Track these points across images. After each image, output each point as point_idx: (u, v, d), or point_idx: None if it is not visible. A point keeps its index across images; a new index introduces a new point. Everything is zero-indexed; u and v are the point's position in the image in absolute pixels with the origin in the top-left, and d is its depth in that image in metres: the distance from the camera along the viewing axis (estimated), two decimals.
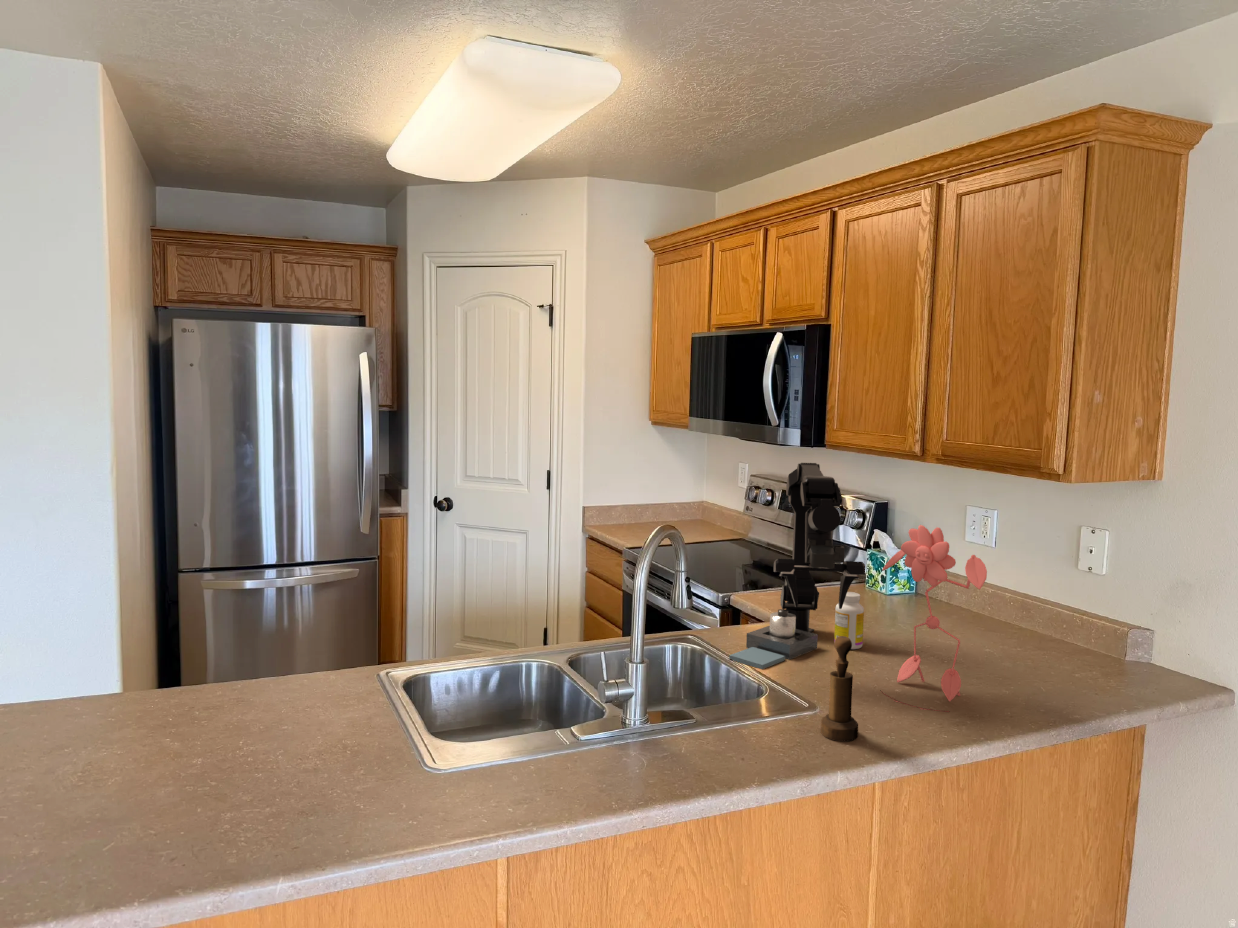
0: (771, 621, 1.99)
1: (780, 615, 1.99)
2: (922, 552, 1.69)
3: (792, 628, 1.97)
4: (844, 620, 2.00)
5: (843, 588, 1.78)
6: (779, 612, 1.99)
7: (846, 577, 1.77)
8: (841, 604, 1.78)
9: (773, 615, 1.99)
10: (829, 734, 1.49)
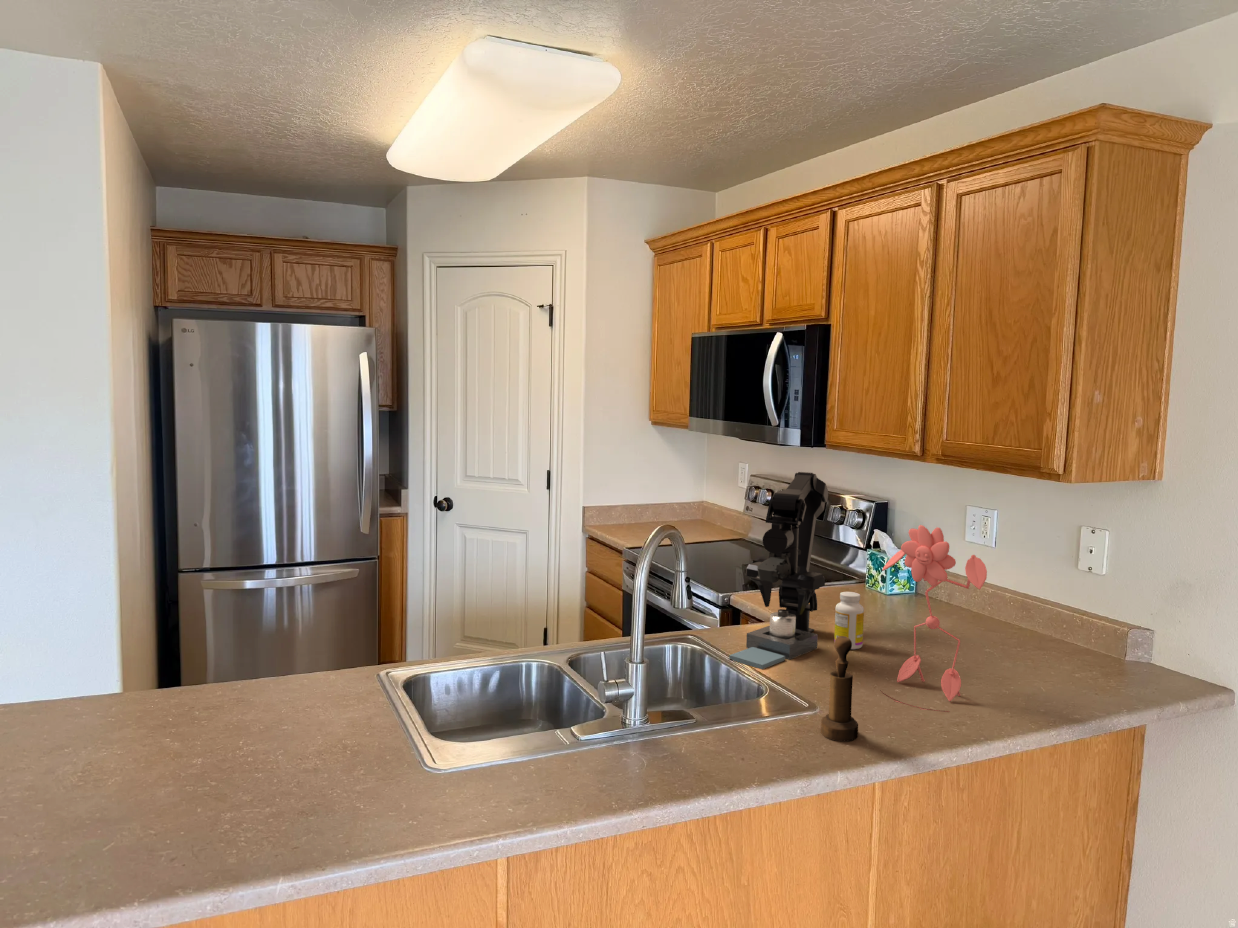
0: (771, 621, 1.99)
1: (780, 615, 1.99)
2: (922, 552, 1.69)
3: (792, 628, 1.97)
4: (844, 620, 2.00)
5: (799, 597, 1.95)
6: (779, 612, 1.99)
7: (797, 589, 1.93)
8: (799, 611, 1.96)
9: (773, 615, 1.99)
10: (829, 734, 1.49)
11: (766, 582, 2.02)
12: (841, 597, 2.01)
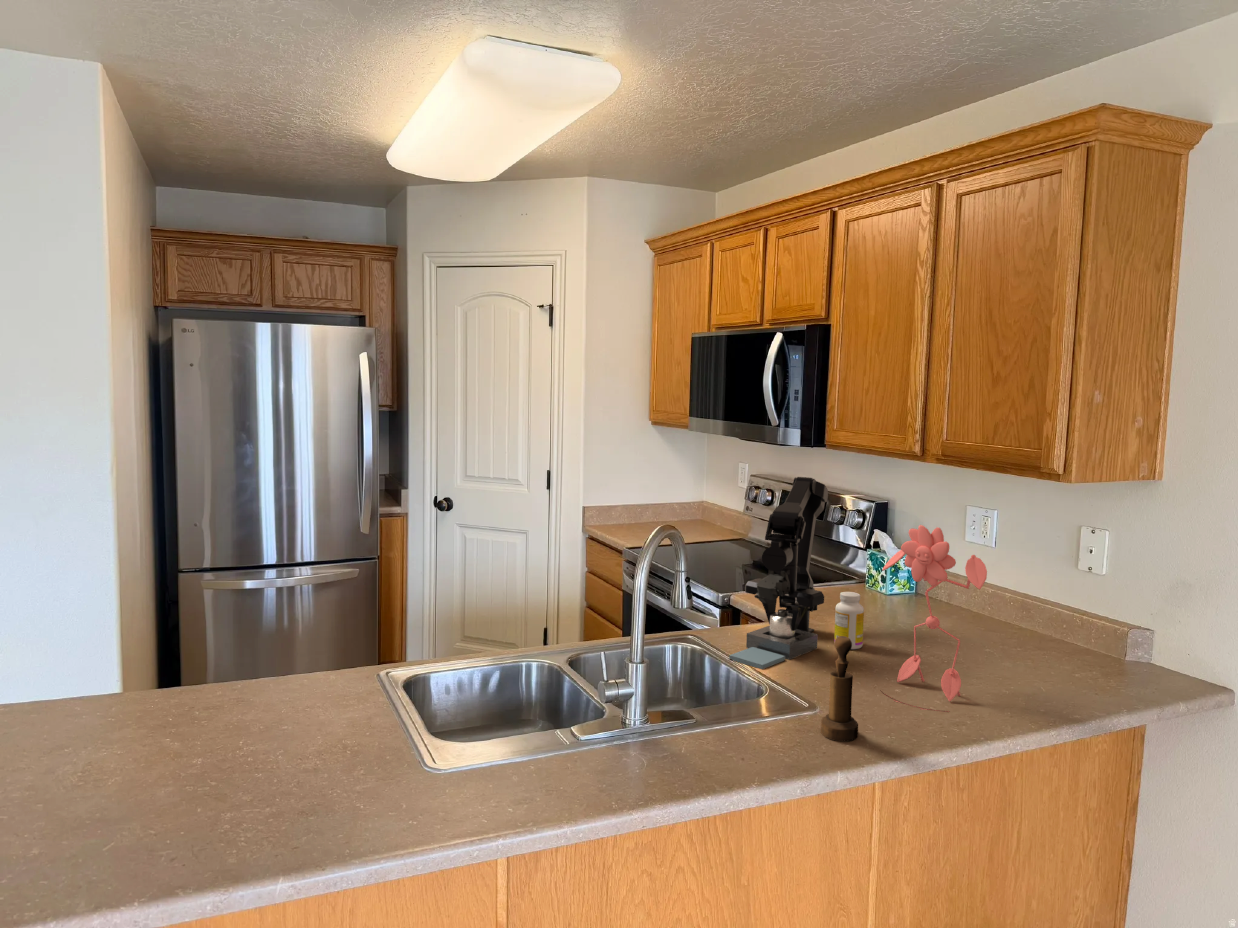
0: (771, 621, 1.99)
1: (780, 615, 1.99)
2: (922, 552, 1.69)
3: None
4: (844, 620, 2.00)
5: (793, 613, 1.96)
6: (779, 612, 1.99)
7: (791, 605, 1.94)
8: (793, 627, 1.97)
9: (773, 615, 1.99)
10: (829, 734, 1.49)
11: (770, 600, 2.02)
12: (841, 597, 2.01)
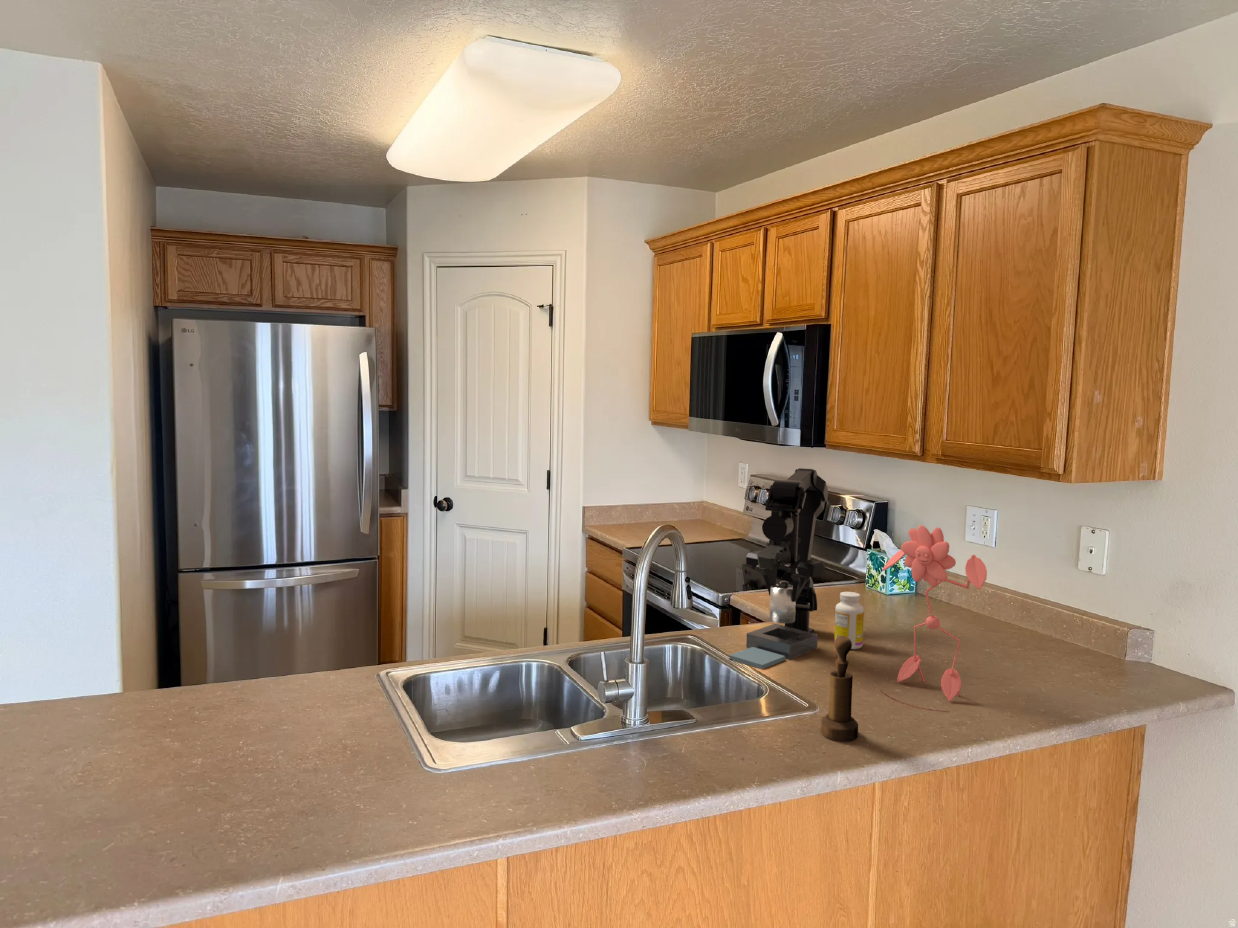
0: (771, 592, 1.98)
1: (780, 586, 1.98)
2: (922, 552, 1.69)
3: (792, 599, 1.97)
4: (844, 620, 2.00)
5: (793, 584, 1.95)
6: (779, 583, 1.98)
7: (792, 576, 1.94)
8: (793, 598, 1.96)
9: (773, 586, 1.99)
10: (829, 734, 1.49)
11: (771, 572, 2.01)
12: (841, 597, 2.01)
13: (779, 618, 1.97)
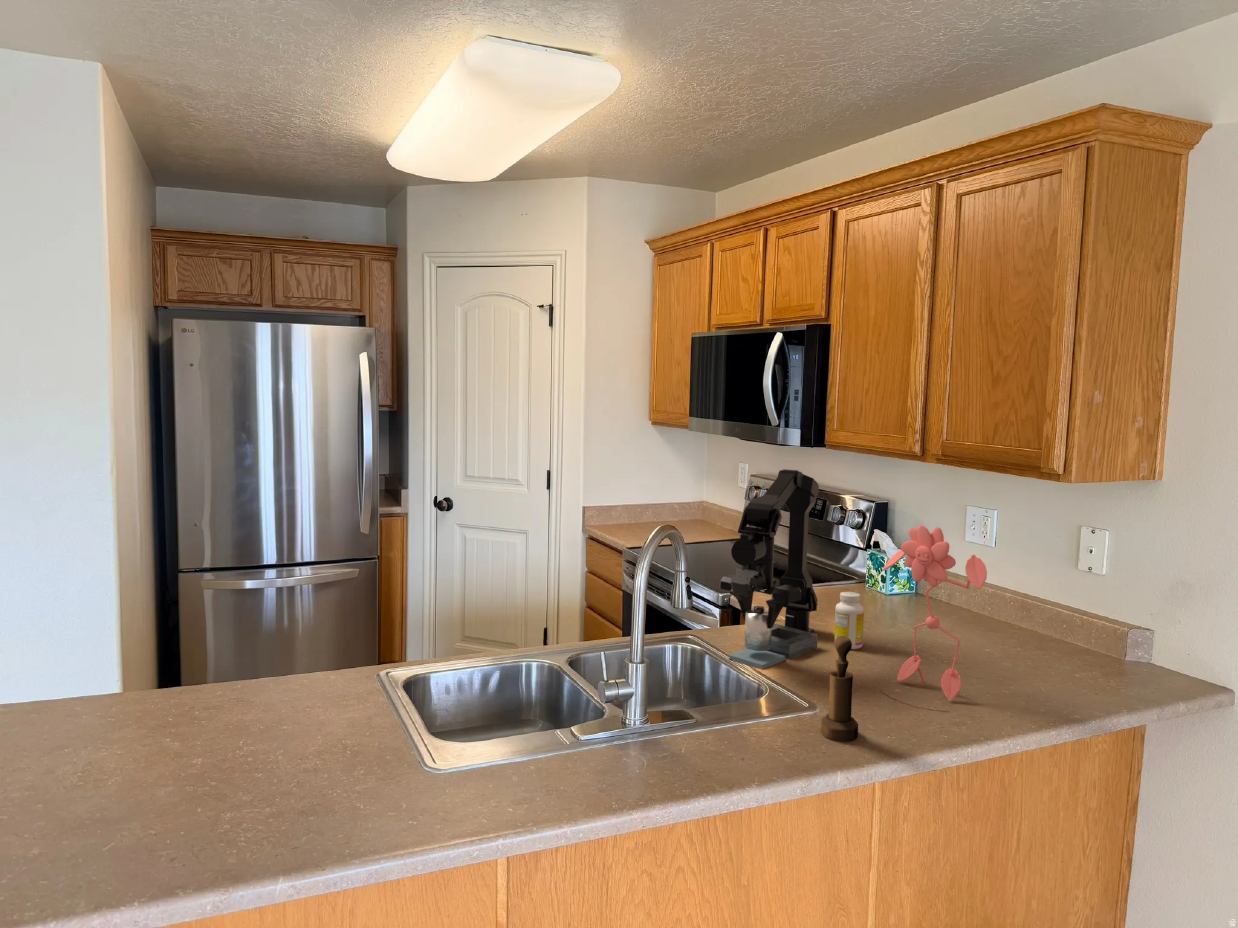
0: (746, 618, 1.90)
1: (755, 612, 1.90)
2: (922, 552, 1.69)
3: None
4: (844, 620, 2.00)
5: (769, 611, 1.87)
6: (755, 609, 1.90)
7: (767, 602, 1.85)
8: (769, 624, 1.88)
9: (748, 612, 1.90)
10: (829, 734, 1.49)
11: (746, 596, 1.93)
12: (841, 597, 2.01)
13: (754, 645, 1.88)
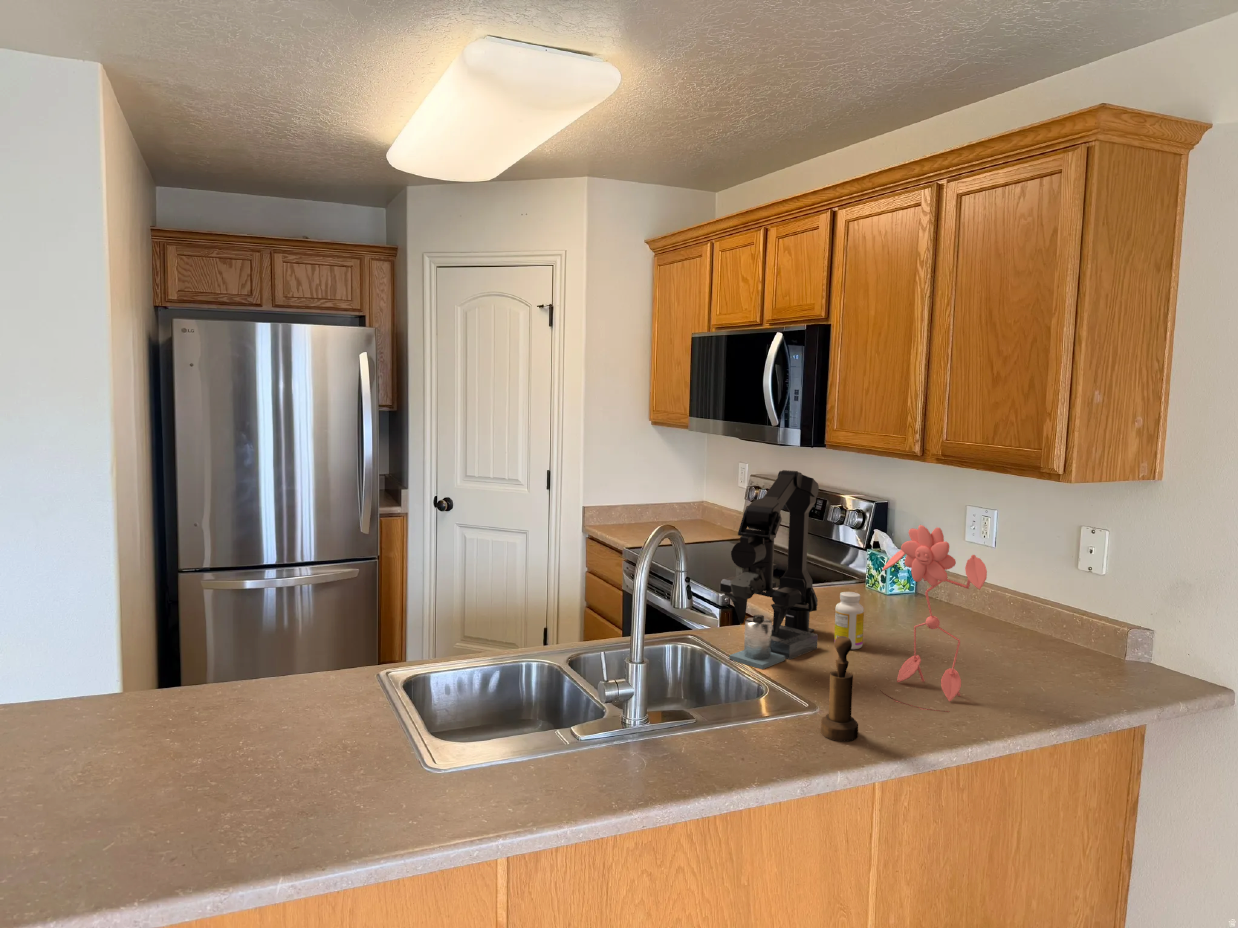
0: (746, 627, 1.90)
1: (755, 620, 1.90)
2: (922, 552, 1.69)
3: (767, 635, 1.88)
4: (844, 620, 2.00)
5: (774, 614, 1.86)
6: (754, 618, 1.90)
7: (772, 606, 1.84)
8: (774, 628, 1.87)
9: (748, 621, 1.90)
10: (829, 734, 1.49)
11: (741, 598, 1.94)
12: (841, 597, 2.01)
13: (754, 654, 1.88)
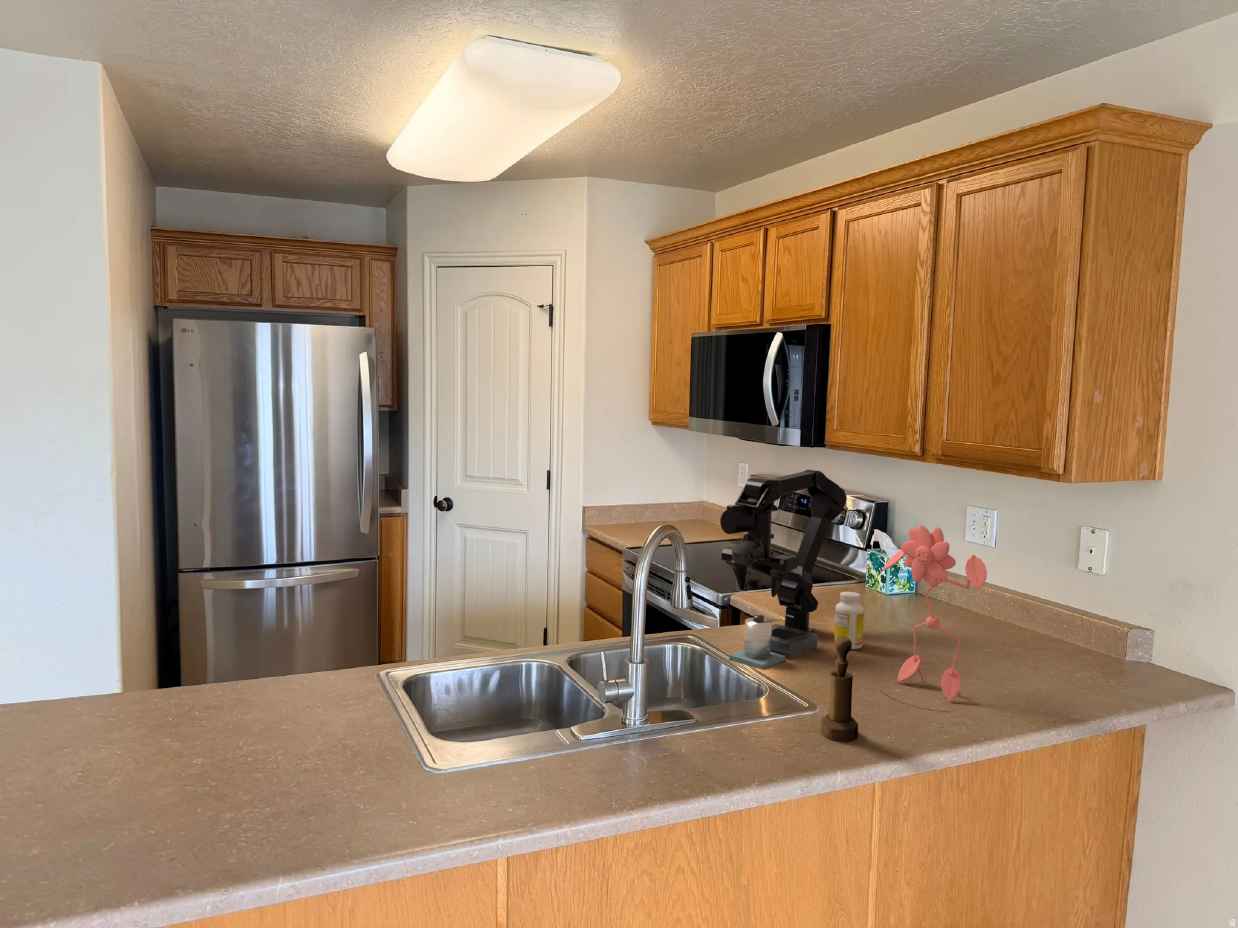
0: (746, 627, 1.90)
1: (755, 620, 1.90)
2: (922, 552, 1.69)
3: (767, 635, 1.88)
4: (844, 620, 2.00)
5: (772, 580, 2.00)
6: (754, 618, 1.90)
7: (770, 572, 1.98)
8: (772, 593, 2.01)
9: (748, 621, 1.90)
10: (829, 734, 1.49)
11: (741, 566, 2.07)
12: (841, 597, 2.01)
13: (754, 654, 1.88)
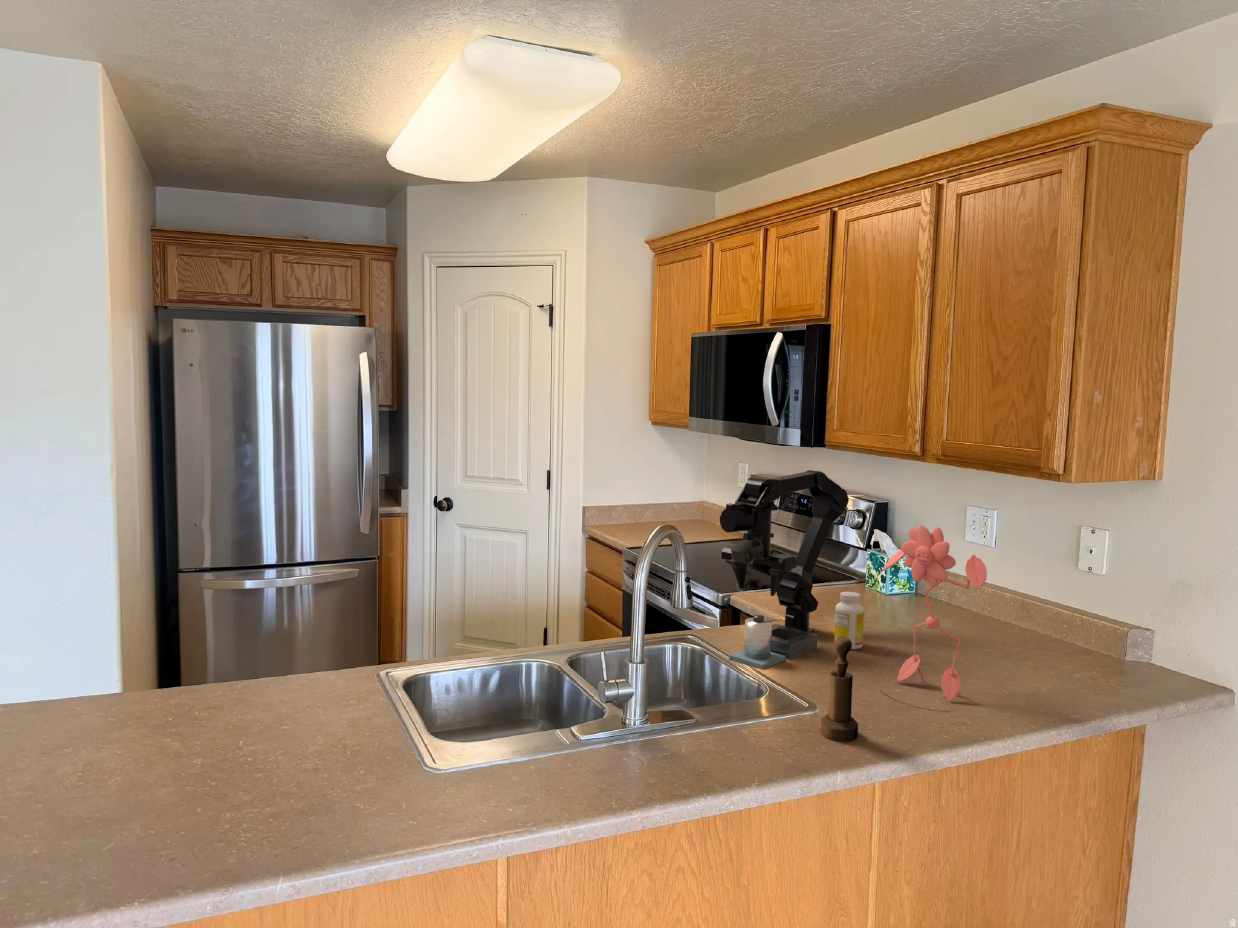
0: (746, 627, 1.90)
1: (755, 620, 1.90)
2: (922, 552, 1.69)
3: (767, 635, 1.88)
4: (844, 620, 2.00)
5: (771, 579, 2.00)
6: (754, 618, 1.90)
7: (769, 570, 1.99)
8: (771, 592, 2.01)
9: (748, 621, 1.90)
10: (829, 734, 1.49)
11: (740, 565, 2.08)
12: (841, 597, 2.01)
13: (754, 654, 1.88)
